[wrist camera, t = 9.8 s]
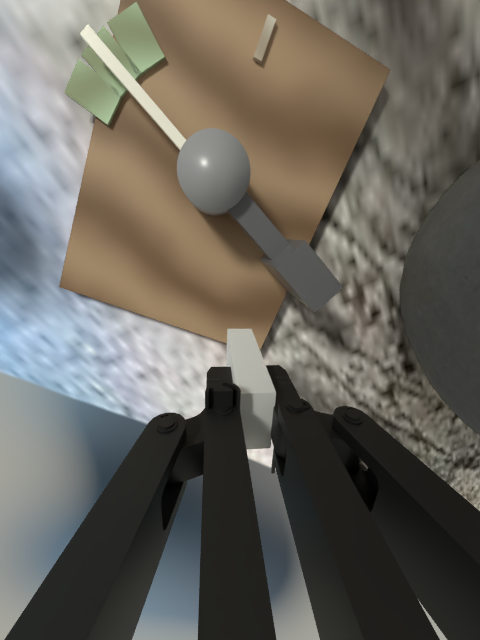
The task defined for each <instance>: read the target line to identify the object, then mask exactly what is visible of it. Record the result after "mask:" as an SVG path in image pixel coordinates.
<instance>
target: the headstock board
mask: <svg viewBox="0 0 480 640" xmlns="http://www.w3.org/2000/svg"><path fill="white" fill-rule="evenodd" d="M107 23H108V25H109V27H110V29H111V31H112V33H113V37H112V36H111V35H110V33H109V32H108V31H107V30H106V29H105V27H104V26H103V27H102V29H101V30H100V31H99V32H98V34H97V36H98V37H99V38H100V39H101V40H102V42H103V43H104V44H105V45H106V46H107V47H108V49H109V50H110V51H111V52H112V53H113V55H114V56H115V57H116V58H117V59H118V60H119V62H120V63H121V64H122V65H123V66H124V67H125V69H126V70H127V71H128V72H129V73H130V75H131V76H132V77H133V78H134V79H135V80H136V82H137V83H138V84H139V85H140V86H141V87H142V89H143V90H144V91H145V92H146V93H147V95H148V96H149V97H150V98H151V99H152V100H153V102H154V103H155V104H156V105H157V106H158V107H159V109H160V110H161V111H162V112H163V113H164V115H165V116H166V117H167V118H168V119H169V120H170V122H171V123H172V124H173V125H174V126H175V127H176V129H177V130H178V131H179V132H180V133H181V135H182V136H183V137H184V138H185V139H186V140H187V139H188V138H189V137H190V136H191V135H193V134H194V133H196V132H198V131H200V130H203V129H208V128H216V129H221V130H224V131H226V132H228V133H230V134H232V135H233V136H234V137H235V138H237V139H238V140H239V142H240V143H241V144H242V145H243V147H244V149H245V151H246V152H247V155H248V158H249V162H250V168H251V175H250V182H249V186H248V189H247V191H246V192H247V193H248V195H249V196H250V197H251V198H252V200H253V201H254V202H255V203H256V204H257V206H258V207H259V208H260V209H261V210H262V212H263V213H264V214H265V215H266V216H267V218H268V219H269V220H270V221H271V222H272V224H273V225H274V226H275V227H276V228H277V230H278V231H279V232H280V233H281V235H282V236H283V237H284V238H285V239H292V240H305V241H306V242H307V243H308V244H310V242H311V240H312V237H313V235H314V233H315V231H316V229H317V227H318V225H319V222H320V220H321V218H322V216H323V214H324V212H325V209H326V207H327V205H328V203H329V201H330V199H331V197H332V194H333V192H334V190H335V188H336V186H337V184H338V182H339V179H340V177H341V175H342V173H343V171H344V169H345V167H346V164H347V162H348V160H349V158H350V156H351V154H352V151H353V149H354V147H355V145H356V143H357V141H358V139H359V136H360V134H361V132H362V130H363V128H364V126H365V124H366V121H367V119H368V117H369V115H370V113H371V111H372V108H373V106H374V104H375V102H376V100H377V98H378V96H379V93H380V91H381V89H382V87H383V85H384V83H385V81H386V78H387V76H388V74H389V72H390V69H388V68H387V67H385V66H384V65H382V64H381V63H379V62H378V61H376V60H375V59H373V58H372V57H370V56H369V55H367V54H366V53H364V52H363V51H361V50H360V49H358V48H357V47H355V46H354V45H352V44H351V43H349V42H348V41H346V40H345V39H343V38H342V37H340V36H339V35H337V34H336V33H334V32H333V31H331V30H329V29H328V28H326V27H325V26H323V25H322V24H320V23H319V22H317V21H316V20H314V19H313V18H311V17H310V16H308V15H307V14H305V13H304V12H302V11H301V10H299V9H298V8H296V7H295V6H293V5H292V4H290V3H289V2H287V1H286V0H121V1H120V6H119V10H118V15H117V16H115V17H114V18H113V19H111V20H110V21H108V22H107ZM81 55H82V57H83V58H84V59H85V60H86V61H87V63H88V64H89V65H90V66H91V67H92V68H93V69H94V71H93V70H92V69H91V68H90V67H88V66H87V65H86V64H84V63H83V62H82V61H81V60H79V59H78V61H77V64H76V66H75V68H74V71H73V73H72V75H71V78H70V80H69V83H68V85H67V87H66V90H65V92H64V93H65V94H66V95H67V96H69V97H70V98H71V99H73V100H74V101H76V102H77V103H78V104H80V105H81V106H82V107H84V108H85V109H86V110H88V111H89V112H90V113H92V114H93V115H95V116H96V118H95V122H94V127H93V132H92V136H91V141H90V146H89V150H88V155H87V160H86V164H85V169H84V174H83V178H82V183H81V188H80V192H79V197H78V202H77V206H76V211H75V216H74V220H73V225H72V230H71V234H70V239H69V244H68V248H67V253H66V258H65V262H64V267H63V272H62V276H61V281H60V286H59V287H61V288H64V289H67V290H70V291H73V292H76V293H79V294H82V295H85V296H88V297H91V298H93V299H96V300H99V301H102V302H105V303H108V304H111V305H114V306H117V307H120V308H123V309H126V310H129V311H132V312H135V313H138V314H141V315H144V316H147V317H150V318H153V319H156V320H159V321H162V322H165V323H167V324H170V325H173V326H176V327H179V328H182V329H185V330H188V331H191V332H194V333H197V334H200V335H203V336H206V337H209V338H212V339H215V340H218V341H221V342H224V343H227V329H252V331H253V334H254V336H255V339H256V342H257V344H258V347H259V349H261V347H262V345H263V343H264V341H265V338H266V336H267V334H268V332H269V330H270V328H271V326H272V323H273V321H274V319H275V317H276V315H277V313H278V311H279V308H280V306H281V304H282V302H283V300H284V298H285V295H286V293H287V290H286V288H285V287H284V286H283V285H282V284H281V283H280V282H279V281H278V279H277V278H276V277H275V276H274V275H273V274H272V273H271V272H270V271H269V269H268V268H267V267H266V266H265V265H264V264H263V263H262V262H261V260H260V258H261V257H262V256H263V255H264V253H263V252H262V251H261V250H260V249H259V248H258V247H257V245H256V244H255V243H254V242H253V241H252V240H251V239H250V238H249V236H248V235H247V234H246V233H245V232H244V231H243V230H242V228H241V227H240V226H239V225H238V224H237V223H236V222H235V220H234V219H233V218H232V217H231V216H230V215H229V214H228V213H226V214H223V215H219V216H211V215H207V214H204V213H202V212H201V211H199V210H198V209H197V208H195V207H194V205H193V204H192V203H191V202H190V200H189V199H188V198H187V196H186V195H185V193H184V192H183V190H182V188H181V186H180V183H179V180H178V176H177V160H178V155H179V152H180V150H179V149H178V148H177V147H176V146H175V144H174V143H173V142H172V141H171V140H170V139H169V137H168V136H167V135H166V134H165V133H164V132H163V131H162V129H161V128H160V127H159V126H158V125H157V124H156V123H155V121H154V120H153V119H152V118H151V117H150V116H149V115H148V113H147V112H146V111H145V110H144V109H143V108H142V106H141V105H140V104H139V103H138V102H137V101H136V100H135V98H134V97H133V96H132V95H131V94H130V93H129V92H128V90H127V89H126V88H125V87H124V86H123V85H122V83H121V82H120V81H119V80H118V79H117V78H116V77H115V75H114V74H113V73H112V72H111V71H110V70H109V69H108V67H107V66H106V65H105V64H104V63H103V62H102V61H101V59H100V58H99V57H98V56H97V55H96V54H95V52H94V51H93V50H92V49H91V48H90V47H89V46H87V48H86V49H85V50H84V52H83V53H82V54H81Z"/></svg>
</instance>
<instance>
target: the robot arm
mask: <svg viewBox="0 0 480 640" xmlns="http://www.w3.org/2000/svg"><path fill="white" fill-rule="evenodd" d="M271 438H272V442H273V445H274V450H273V459H272V468H271V469H272V473H274V472H275V468H276V472H277V475H278V479H279V483H280V487H281V491H282V495H283V498H284V502H285V506H286V510H287V514H288V518H289V521H290V525H291V529H292V533H293V537H294V541H295V545H296V548H297V552H298V556H299V560H300V563H301V567H302V572H303V575H304V579H305V583H306V587H307V591H308V595H309V598H310V602H311V606H312V610H313V613H314V617H315V621H316V625H317V629H318V633H319V637H320V640H440V639H439V638H438V636H437V634H436V632H435V630H434V628H433V627H432V625H431V623H430V621H429V619H428V618H427V616H426V614H425V612H424V610H423V609H422V607H421V605H420V603H419V601H420V602H421V604H422V605H423V607H424V608H425V609H426V611H427V612H428V613H429V615H430V616H431V617H432V619H433V620H434V622H435V623H436V624H437V626H438V627H439V629H440V630H441V631H442V633H443V634H444V635H445V637H446V638H447V639H448V640H480V511H479V510H477V509H476V508H475V507H474V506H473V505H472V504H470V503H469V502H468V501H467V500H466V499H465V498H463V497H462V496H461V495H460V494H459V493H458V492H456V491H455V490H454V489H453V488H452V487H451V486H449V485H448V484H447V483H446V482H445V481H444V480H442V479H441V478H440V477H439V476H438V475H437V474H435V473H434V472H433V471H432V470H431V469H430V468H428V467H427V466H426V465H425V464H424V463H423V462H421V461H420V460H419V459H418V458H417V457H416V456H414V455H413V454H412V453H411V452H410V451H409V450H407V449H406V448H405V447H404V446H403V445H401V444H400V443H399V442H398V441H397V440H396V439H394V438H393V437H392V436H391V435H390V434H389V433H387V432H386V431H385V430H384V429H383V428H382V427H380V426H379V425H378V424H377V423H376V422H375V421H373V420H372V419H371V418H370V417H369V416H368V415H366V414H365V413H364V412H362V411H361V410H358V409H356V408H353V407H348V406H341V407H338V408H336V409H335V411H334V414H333V415H330V414H325V413H320V412H316V411H314V410H313V408H312V406H311V405H310V404H309V403H308V402H307V401H305V400H303V399H301V398H300V397H299V395H298V393H297V391H296V389H295V387H294V385H293V384H292V383H291V380H290V378H289V376H288V374H287V372H286V370H285V369H283V368H282V367H281V366H279V365H268V366H266V365H265V362H264V360H263V357H262V354H261V352H260V349H259V347H258V344H257V342H256V339H255V336H254V334H253V331H252V329H227V359H226V367H211V368H210V369H209V371H208V372H207V387H206V391H205V409H204V410H203V411H202V412H201V413H200V414H199V415H197V416H195V417H192V418H189V419H186V420H185V419H184V417H182V416H181V415H180V414H176V413H164V414H160V415H158V416H156V417H154V418H153V419H152V420H151V421H150V422H149V423H148V425H147V426H146V428H145V429H144V431H143V432H142V434H141V435H140V437H139V438H138V440H137V441H136V443H135V444H134V446H133V447H132V449H131V450H130V452H129V453H128V455H127V456H126V458H125V459H124V461H123V462H122V464H121V465H120V467H119V468H118V470H117V472H116V473H115V474H114V476H113V477H112V479H111V480H110V482H109V483H108V485H107V486H106V488H105V489H104V491H103V492H102V494H101V495H100V497H99V498H98V500H97V501H96V503H95V504H94V506H93V507H92V509H91V511H90V512H89V513H88V515H87V516H86V518H85V519H84V521H83V522H82V524H81V525H80V527H79V528H78V530H77V532H76V533H75V535H74V536H73V537H72V539H71V540H70V542H69V544H68V545H67V546H66V548H65V549H64V551H63V552H62V554H61V555H60V557H59V559H58V560H57V561H56V563H55V565H54V566H53V568H52V569H51V571H50V572H49V574H48V575H47V577H46V578H45V580H44V581H43V583H42V584H41V586H40V587H39V589H38V590H37V592H36V593H35V595H34V596H33V598H32V599H31V601H30V602H29V604H28V605H27V607H26V608H25V610H24V611H23V613H22V614H21V616H20V617H19V619H18V620H17V622H16V623H15V625H14V626H13V628H12V629H11V631H10V632H9V634H8V635H7V637H6V638H5V640H132V637H133V635H134V632H135V629H136V626H137V623H138V621H139V617H140V615H141V612H142V609H143V606H144V604H145V601H146V598H147V595H148V592H149V589H150V587H151V584H152V581H153V578H154V575H155V572H156V570H157V567H158V564H159V561H160V558H161V556H162V553H163V550H164V547H165V544H166V542H167V539H168V536H169V533H170V530H171V527H172V525H173V522H174V519H175V516H176V513H177V511H178V508H179V505H180V502H181V499H182V496H183V493H184V491H185V488H186V485H187V481H188V480H189V479H192V478H195V477H197V476H200V475H203V497H202V529H201V558H200V589H199V621H198V640H276V635H275V628H274V622H273V616H272V609H271V603H270V597H269V590H268V584H267V578H266V572H265V565H264V559H263V552H262V546H261V539H260V533H259V527H258V521H257V515H256V508H255V501H254V496H253V489H252V482H251V477H250V470H249V463H248V457H247V451H246V449H261V448H270V446H271ZM362 461H363V462H364V463H365V464H366V465H367V466H368V467H369V468H368V469H366V468H365V467H364V466H363V465H362V464H361V462H362ZM418 600H419V601H418Z"/></svg>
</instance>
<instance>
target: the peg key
mask: <svg viewBox="0 0 480 640" xmlns="http://www.w3.org/2000/svg"><path fill="white" fill-rule="evenodd" d="M80 35H81V36H82V38H83V39H84V41H85V42H86V43H87V44H88V46H89V47H90V48H91V49H92V50H93V51H94V52H95V54H96V55H97V56H98V57H99V58H100V59H101V61H102V62H103V63H104V64H105V65H106V66H107V67H108V69H109V70H110V71H111V72H112V73H113V74H114V75H115V77H116V78H117V79H118V80H119V81H120V82H121V83H122V85H123V86H124V87H125V88H126V89H127V90H128V92H129V93H130V94H131V95H132V96H133V97H134V98H135V100H136V101H137V102H138V103H139V104H140V105H141V106H142V108H143V109H144V110H145V111H146V112H147V113H148V115H149V116H150V117H151V118H152V119H153V120H154V121H155V123H156V124H157V125H158V126H159V127H160V128H161V129H162V131H163V132H164V133H165V134H166V135H167V136H168V137H169V139H170V140H171V141H172V142H173V143H174V144H175V146H176V147H177V148H178V149H179V150H180V152H179V155H178V160H177V176H178V180H179V183H180V186H181V188H182V190H183V192H184V193H185V195H186V196H187V198H188V199H189V200H190V202H191V203H192V204H193V205H194V207H195V208H197V209H198V210H199V211H201V212H202V213H204V214H207V215H211V216H219V215H223V214H226V213H228V214H229V215H230V216H231V217H232V218H233V219H234V220H235V222H236V223H237V224H238V225H239V226H240V227H241V228H242V230H243V231H244V232H245V233H246V234H247V235H248V236H249V238H250V239H251V240H252V241H253V242H254V243H255V244H256V245H257V247H258V248H259V249H260V250H261V251H262V252H263V253H264V255H263V256H262V257H261V258H260V260H261V262H262V263H263V264H264V265H265V266H266V267H267V268H268V269H269V271H270V272H271V273H272V274H273V275H274V276H275V277H276V278H277V279H278V281H279V282H280V283H281V284H282V285H283V286H284V287H285V288H286V290H287V291H288V292H289V293H290V294H291V295H293V296H294V297H295V298H297V299H298V300H299V301H300V302H302V303H303V304H304V305H305V306H307V307H308V308H309V309H310V310H312V311H313V312H314V313H315V312H316V311H317V310H318V309H320V308H321V307H322V306H323V305H324V304H325V303H326V302H328V301H329V300H330V299H331V298H332V297H333V296H334V295H335V294H337V293H338V292H339V291H340V290H341V289H342V288H343V287H342V285H341V284H340V283H339V282H338V280H337V279H336V278H335V277H334V275H333V274H332V273H331V272H330V270H329V269H328V268H327V267H326V265H325V264H324V263H323V262H322V260H321V259H320V258H319V257H318V255H317V254H316V253H315V252H314V250H313V249H312V248H311V247H310V245H309V244H308V243H307V242H306V241H305V240H292V239H285V238H284V237H283V236H282V235H281V233H280V232H279V231H278V230H277V228H276V227H275V226H274V225H273V224H272V222H271V221H270V220H269V219H268V218H267V216H266V215H265V214H264V213H263V212H262V210H261V209H260V208H259V207H258V206H257V204H256V203H255V202H254V201H253V200H252V198H251V197H250V196H249V195H248V193H247V192H246V191H247V189H248V186H249V182H250V175H251V168H250V162H249V158H248V155H247V152H246V151H245V149H244V147H243V145H242V144H241V143H240V142H239V140H238V139H237V138H235V137H234V136H233V135H232V134H230V133H228V132H226V131H224V130H221V129H216V128H208V129H203V130H200V131H198V132H196V133H194V134H193V135H191V136H190V137H189V138H188V139H187V140H186V139H185V138H184V137H183V136H182V135H181V133H180V132H179V131H178V130H177V129H176V127H175V126H174V125H173V124H172V123H171V122H170V120H169V119H168V118H167V117H166V116H165V115H164V113H163V112H162V111H161V110H160V109H159V107H158V106H157V105H156V104H155V103H154V102H153V100H152V99H151V98H150V97H149V96H148V95H147V93H146V92H145V91H144V90H143V89H142V87H141V86H140V85H139V84H138V83H137V82H136V80H135V79H134V78H133V77H132V76H131V75H130V73H129V72H128V71H127V70H126V69H125V67H124V66H123V65H122V64H121V63H120V62H119V60H118V59H117V58H116V57H115V56H114V55H113V53H112V52H111V51H110V50H109V49H108V47H107V46H106V45H105V44H104V43H103V42H102V40H101V39H100V38H99V37H98V36H97V35H96V33H95V32H94V31H93V30H92V29H91V27H90V26H89V25H88V24H87V25H86V27H85V28H84V29H83V31H82V32H81V33H80Z"/></svg>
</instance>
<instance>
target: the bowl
mask: <svg viewBox="0 0 480 640" xmlns="http://www.w3.org/2000/svg"><path fill="white" fill-rule="evenodd" d="M400 310H401V315H402V319H403V323H404V327H405V330H406V333H407V336H408V339H409V341H410V343H411V346H412V348H413V350H414V352H415V355H416V357H417V359H418V361H419V364H420V366H421V368H422V370H423V372H424V374H425V376H426V377H427V379H428V380H429V382H430V384H431V385H432V386H433V388H434V389H435V390H436V392H437V393H438V394H439V396H440V397H441V398H442V400H443V401H444V402H445V403H446V404H447V405H448V406H449V407H450V408H451V409H452V411H453V412H454V413H455V414H456V415H457V416H458V417H459V418H460V419H461V420H462V421H463V422H464V423H465V424H467V425H468V426H469V427H470V428H472V429H473V430H474V431H475V432H476V433H478V434H479V435H480V159H479V160H478V161H477V162H476V163H475V164H473V165H472V166H471V167H470V168H469V169H468V170H466V171H465V172H464V173H463V174H462V175H461V176H460V177H459V178H458V179H457V180H456V181H455V182H454V183H453V184H452V185H451V187H450V188H449V189H448V190H447V191H446V192H445V194H444V195H443V196H442V197H441V199H440V200H439V201H438V202H437V204H436V205H435V206H434V207H433V209H432V210H431V211H430V213H429V214H428V215H427V217H426V219H425V220H424V222H423V224H422V226H421V227H420V229H419V231H418V232H417V234H416V236H415V237H414V239H413V241H412V243H411V246H410V248H409V251H408V253H407V256H406V259H405V264H404V269H403V274H402V279H401V284H400Z"/></svg>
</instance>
